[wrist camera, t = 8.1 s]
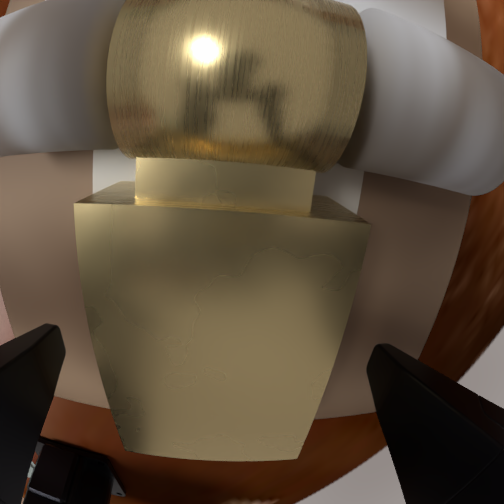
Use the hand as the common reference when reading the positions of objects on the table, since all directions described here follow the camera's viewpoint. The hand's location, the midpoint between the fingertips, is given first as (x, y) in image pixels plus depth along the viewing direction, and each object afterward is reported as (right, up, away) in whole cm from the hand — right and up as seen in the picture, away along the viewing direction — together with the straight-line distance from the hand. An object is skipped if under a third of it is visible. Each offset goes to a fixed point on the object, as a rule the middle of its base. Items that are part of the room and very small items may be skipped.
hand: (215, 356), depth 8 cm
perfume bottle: (0, +3, +1) cm, 3 cm away
